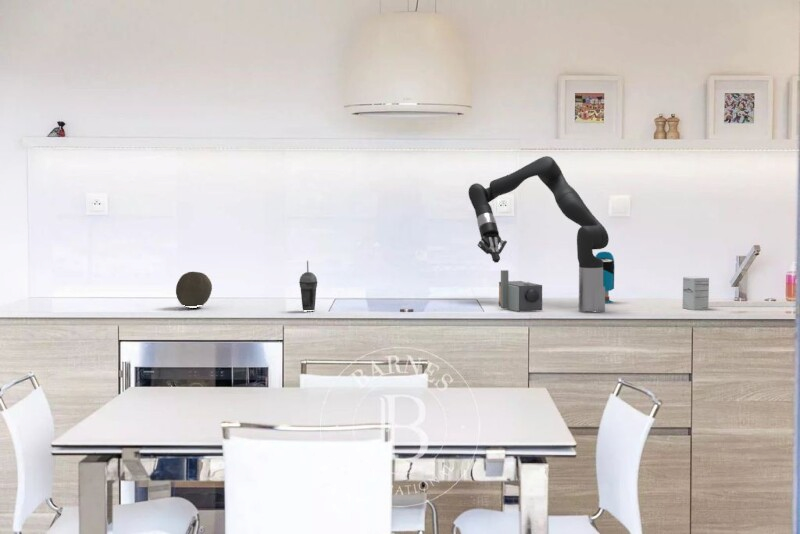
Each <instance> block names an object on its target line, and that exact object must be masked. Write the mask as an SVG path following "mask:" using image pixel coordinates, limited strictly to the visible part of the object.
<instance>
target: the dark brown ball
mask: <svg viewBox="0 0 800 534" xmlns="http://www.w3.org/2000/svg"><path fill="white" fill-rule="evenodd" d="M212 289H213V285H212V281H211V279H210V278H209V276H208V275H206V274H205V273H203V272H198V271H187V272H186V273H184V274H182V275H181V276H180V278H179V279H178V281H177V284H176V287H175V295H176V299H177V300H178V302H179V303H180V304H181V306H183V305H185V306H197V305H202V306H204V305H205V304H206V303H207V302H208V301H209V298H210V296H211V294H212V291H213V290H212ZM185 306H184V307H185Z"/></svg>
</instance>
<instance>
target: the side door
mask: <svg viewBox="0 0 800 534" xmlns="http://www.w3.org/2000/svg"><path fill="white" fill-rule="evenodd" d="M508 281H509V270H508V269H507V270H506V269H505V270H503V269H502V270H501V269H500V282H501V307H500V309H501V310H503V309H507V310H511V311H516V312H520V311H519V287H517V286H512V285H508Z"/></svg>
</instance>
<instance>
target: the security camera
mask: <svg viewBox="0 0 800 534" xmlns="http://www.w3.org/2000/svg"><path fill="white" fill-rule="evenodd" d="M595 257H597V258H599V259H601V260H603V287H605V304H614V302H613V300H610V296H609V291H613V290H614V289H615V259H614V255H613V254H612V253H611V252H610V251H600V252H598V253H596V255H595Z"/></svg>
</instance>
